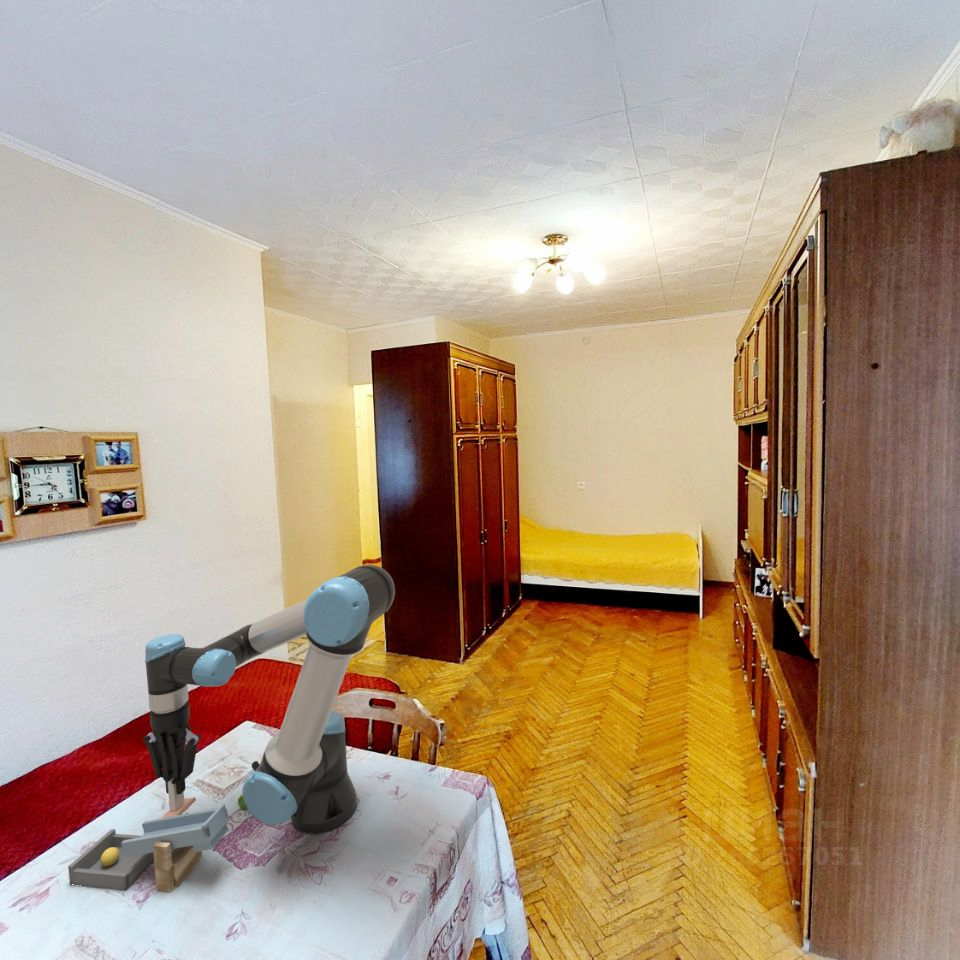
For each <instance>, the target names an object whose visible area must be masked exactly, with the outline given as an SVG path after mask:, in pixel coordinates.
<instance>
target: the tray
mask: <svg viewBox="0 0 960 960" xmlns="http://www.w3.org/2000/svg"><path fill="white" fill-rule="evenodd" d="M116 832H117V831H116V829H113V828H111V829H110V830H109V831H107V832H106V833H105V834H104V835H103V836H102V837H100V838H99V839H98V840H97V841H96V842H94V843H93V844H92V845H91V846H90V847H89V848H88V849H86V850H85V851H84V852H83V853H82V854H81V855H80V856H78V857H77V858H76V859H75V860H73V862H71V863H70V864H69V865H68V867H67V870H68V879H69V885H70V884H71V885H70V886H75V885H79V886H78V887H85V886H86V887H85V888H94V889H104V890H105V889H107V890H114V891H115V890H116V891H125V892H126V891H127V890H128V889H129V888H130V887H132V885H133V884H134V883H135V882H136V881H137V880H138V879H139V878H140V877H141V876H142V875H143V874H144V873H145V872H146V871H147V869H148V868H150V866H152V865H153V864H154V853H153V852H152V853H146V854H141V855H135V856H129V857H125V855H124V852H123V848H122V845H121V843H122V842H123V841H124V840H128V839H134V838H139V837H141V836H142V835H136V834H135V835H134V834H124V833H123V834H122V833H116ZM111 847H115V848H117V849H118V850H119V857H118V859H117V861H116V862H115V863H114V864H112V865H110V866H104V865H102V864H101V856H102V854H103V853H104V851H105V850H107V849H108V848H111ZM72 884H74V885H72ZM80 885H81V886H80Z"/></svg>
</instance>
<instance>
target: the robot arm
mask: <svg viewBox="0 0 960 960" xmlns="http://www.w3.org/2000/svg"><path fill="white" fill-rule="evenodd" d="M395 596H396V587H395V583H394V580H393V578H392V576H391V575H390V573H389V572H388V571H386V569H384V568H382V567H380V566H378V565H374V564H365V565H364V564H363V565H360V566H359V565H358V566H357V567H355V568H353V569H351V570H348V571H347V572H345V573H343V574H341V575H339V576H337V577H333V578H330V579H328V580H326V581H325V582H323V583H322V584H321V585H319V586H318V587H317V588H316V589H314V590H313V591H312V593H311V594H310V595H309V596H308V597H307V599H304V600H302V601H300V602H298V603H295V604H292V605H291V606H289V607H287V608H284V609H282V610H279V611H278V612H276V613H273V614H271V615H269V616H266V617H264V618H262V619H260V620H258V621H256V622H253V623H250V624H246V625H245V626H243V627H241V628H239V629H238V630H235V631H234V632H232V633H230V634H228V635H227V636H223V637H221V638H220V639H217V640H216V641H214V642H212V643H210V644H207V645H206V646H204V647H189V646H186V640H185V637H184V636H182V635H181V634H176V633H174V634H167V635H161V636H158V637H155V638H153V639H150V641H148V643H146V645H145V651H144V652H145V655H144V656H145V657H144V658H145V660H144V663H145V671H146V680H147V691H148V694H147V695H148V708H149V711H150V712H149V721H150V728H151V729H152V731H150V732H149V733H148V734H147V735H146V736H144V737H142V741H143V743H144V744H145V746H146V747H147V750H148V753H149V757H150V760H151V763H152V767H153V771H154V773H155V776H156V778H157V779H160V778H162V779H163V781H164V782H165V783H164V784H165V793H166V794H167V795H168V803H169V804H168V805H169V810H174V811H176V810H177V809H178V808H179V807H180V806H181V805H182V804H183V803H184V799H185V795H184V793H185V790H186V788H187V787H186V779H187V778H189V776H190V775H192V773H193V772H194V767H195V760H196V757H197V756H196V753H197V748H198V743H199V741H200V739H201V738H202V735H201V734H200V733H196V734H194V733H193V732H192V730H191V726H190V725H189V720H190V716H191V713H190V702H189V688H188V686H189V685H191V686H199V687H200V686H201V687H205V688H206V687H207V688H210V687H222V686H223V685H226V684H227V683H228V682H229V681H230V679H231V677H233V676H234V674H235V672H236V668H237V667H239V666H240V665H242V664H244V663H245V662H248V661H249V660H251V659H253V658H256V657H258V656H260V655H262V654H265V653H267V652H269V651H271V650H274V649H275V648H276V649H277V648H279V647H281V646H283V645H285V644H288V643H290V642H292V641H294V640H297V639H299V638H302V637H306V639H307V641H308V643H309V647H308V649H307V652H306V655H305V658H304V661H303V664H302V666H301V669H300V672H299V675H298V678H297V680H296V683H295V686H294V689H293V693H292V695H291V698H290V701H289V703H288V706H287V709H286V712H285V715H284V718H283V721H282V724H281V726H280V729H279V732H278V734H277V735H274V736H273V737H272V738H271V739H270V740H269V741H268V742H267V745H266V747H265V749H264V752H263V754H262V757H261V761H260V762H259V767H258V768H257V770H256V771H252V772H251V773H250V774H249V775H248V777H247V778H246V779H245V781H244V783H243V786H242V793H241V795H243V799H244V802H245V804H246V806H247V808H246V809H247V810H248V812H249V813H250V814H251V815H252V816H253V817H254V818H256V819H257V820H258V821H260V822H262V823H263V824H266V825H268V826H269V825H270V826H277V825H282V824H284V823H286V822H287V821H288V820H289V819H290V822H291V825H292V826H293V828H294V829H295V830H297V831H298V832H300V833H303V834H304V833H305V834H309V835H310V834H321V833H326V832H328V831H331V830H334V829H336V828H338V827H340V826H341V825H342V824H344V823H346V822H347V821H348V820H349V819H350V818H351V817H352V815H353V814H354V812H355V811H356V809H357V806H358V805H357V804H358V800H357V791H356V789H355V787H354V785H353V782H352V779H351V777H350V775H349V773H348V772H349V771H348V763H347V762H348V761H347V760H348V759H347V746H346V745H347V744H346V743H347V742H346V727H345V721H344V718H343V716H342V714H341V713H339V712H337V711H333V708H334V705H335V703H336V699H337V697H338V694H339V691H340V688H341V686H342V684H343V681H344V678H345V675H346V672H347V669H348V666H349V664H350V661H351V658H352V656H354V655H357V654H359V653H360V652H361V651H362V650H363V648H364V645H365V643H366V640H367V637H368V635H369V632H370V629H371V628H372V627H371V626H372V625H373V623H374V622H375V621H376V620H378V619H380V617H383V615H384V614H385V613H386V612H388V611H389V609H390V607H392V605H393V601H394V600H395Z"/></svg>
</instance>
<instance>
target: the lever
mask: <svg viewBox="0 0 960 960" xmlns="http://www.w3.org/2000/svg"><path fill="white" fill-rule="evenodd" d="M196 801H197V798H196V796H193V797H188V798H184V803H183V804H182V805H181V806H180V807H179V808H178V809H177V810H176V811H174V810H170V809H169V810H168V811H167V812H166V813H164V815H163V816H162V817H160V818H156V819H151V820H145V821H144V822H143V823H141V825H142V829H143V832H144V833H143V834H142V835H140V836H141V837H139V838H134V839H128V840H124V841H123V842H122V843H121V845H122V848H123V852H124V855H125V857H129V856H135V855H141V854H146V853H152V852H153V845H154V844H155V843H156V842H165V843H170V846H171V850H172V849H175V848H181V847H186V846H192V845H193V848H194V852H200V851H202V852H204V851H210V850H213V849H214V848H215V846H216V845H217V844H218V843H220V840H221V839H222V838H223V837H224V836H225V835H226V833H228V831H229V827H228V825H227V824H228V822H229V821H230V818H229V817H230V816H229V814H228V811H227V808H226V804H225V803H224V804H221V805H219V807H215V808H210V809H204V810H199V811H194V812H187V810H188V809H189V808H190V807H191V806H192V805H193V804H194V803H195V802H196ZM185 812H186V813H187V814H185Z"/></svg>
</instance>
